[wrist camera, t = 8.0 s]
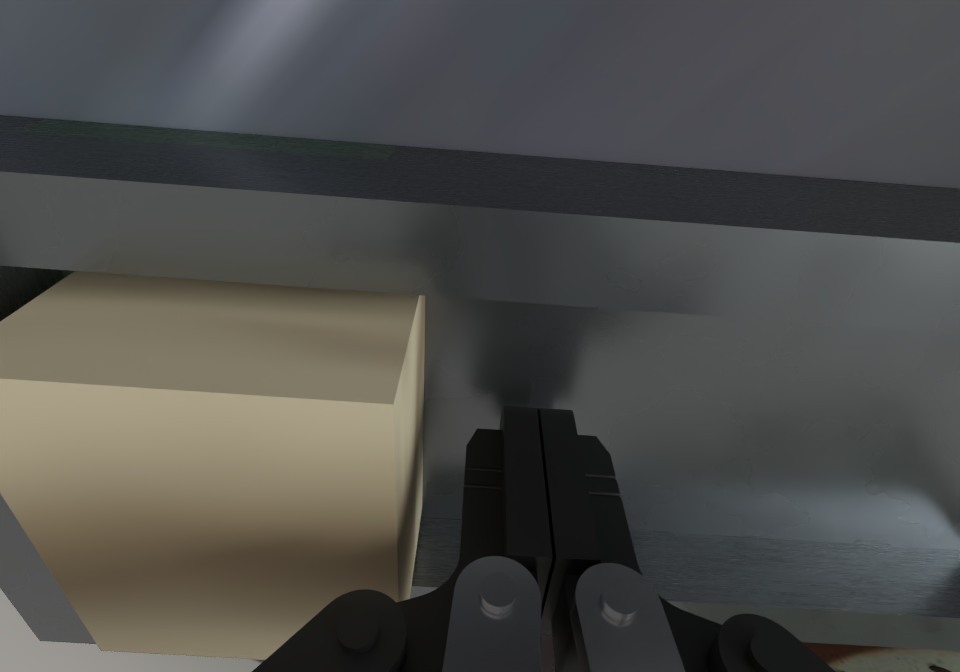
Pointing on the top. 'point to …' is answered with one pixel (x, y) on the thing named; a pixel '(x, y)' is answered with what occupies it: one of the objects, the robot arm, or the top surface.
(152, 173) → the chute
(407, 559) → the beech block
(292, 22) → the top surface
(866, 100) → the top surface
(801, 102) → the top surface
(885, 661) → the food container
